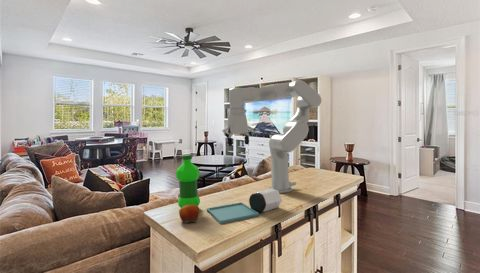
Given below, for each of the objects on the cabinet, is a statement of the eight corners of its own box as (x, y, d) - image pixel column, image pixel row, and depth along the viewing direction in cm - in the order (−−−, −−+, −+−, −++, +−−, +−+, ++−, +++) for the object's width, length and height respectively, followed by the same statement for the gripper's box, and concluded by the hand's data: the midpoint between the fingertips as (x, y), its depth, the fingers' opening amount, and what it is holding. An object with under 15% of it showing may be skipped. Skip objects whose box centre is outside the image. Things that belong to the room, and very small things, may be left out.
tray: (241, 204, 122) (241, 202, 122) (258, 216, 107) (258, 213, 107) (207, 211, 115) (206, 208, 115) (220, 224, 100) (219, 220, 100)
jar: (277, 211, 117) (257, 217, 110) (266, 199, 123) (246, 204, 115) (284, 196, 113) (264, 202, 106) (272, 184, 119) (252, 189, 111)
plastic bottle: (191, 214, 111) (188, 157, 110) (173, 211, 116) (170, 156, 115) (205, 207, 120) (202, 154, 119) (187, 205, 125) (185, 153, 124)
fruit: (182, 224, 97) (179, 203, 100) (179, 228, 103) (177, 208, 107) (203, 220, 100) (200, 200, 104) (199, 224, 107) (196, 205, 110)
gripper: (248, 112, 141) (249, 143, 142) (218, 112, 133) (220, 145, 134) (255, 111, 135) (256, 144, 136) (224, 112, 127) (226, 146, 128)
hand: (238, 145), depth 135 cm, fingers open, 9 cm apart
